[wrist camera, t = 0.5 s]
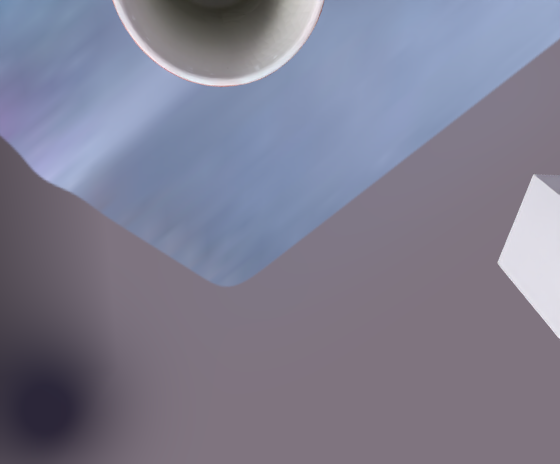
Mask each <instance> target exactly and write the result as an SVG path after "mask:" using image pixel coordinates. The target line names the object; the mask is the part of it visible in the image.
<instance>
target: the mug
mask: <svg viewBox="0 0 560 464" xmlns="http://www.w3.org/2000/svg"><path fill="white" fill-rule="evenodd" d="M113 3H114V6H115V8H116V11H117V14H118V16H119V18H120V20H121V21H122V23H123V25H124V27H125V28H126V30H127V31H128V33H129V34H130V36H131V37H132V39H133V40H134V41H135V42H136V44H137V45H138V46H139V47H140V48H141V50H142V51H144V52H145V53H146V54H147V55H148V56H149V57H150V58H151V59H152V60H153V61H154V62H156V63H157V64H158V65H160V66H161V67H162V68H164V69H165V70H167V71H169V72H170V73H172V74H174V75H176V76H178V77H180V78H182V79H185V80H187V81H190V82H194V83H198V84H202V85H207V86H220V87H226V86H236V85H243V84H247V83H251V82H253V81H257V80H260V79H262V78H264V77H266V76H268V75H270V74H271V73H273V72H275V71H277V70H278V69H279V68H281V67H282V66H283V65H284V64H286V63H287V62H288V61H289V60H290V59H291V58H292V57H293V56H294V55H295V54H296V53H297V52H298V51H299V50H300V49H301V47H302V46H303V45H304V43H305V42H306V40H307V39H308V37H309V36H310V34H311V32H312V31H313V29H314V27H315V25H316V23H317V21H318V19H319V16H320V14H321V11H322V7H323V4H324V0H113Z"/></svg>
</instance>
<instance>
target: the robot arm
mask: <svg viewBox="0 0 560 464" xmlns="http://www.w3.org/2000/svg"><path fill="white" fill-rule="evenodd" d="M498 264H499V265H500V267H501V268H502V269H503V270H504V272H505V273H506V274H507V275H508V277H509V278H510V279H511V280H512V282H513V283H514V284H515V285H516V286H517V288H518V289H519V290H520V291H521V292H522V294H523V295H524V296H525V297H526V299H527V300H528V301H529V302H530V303H531V305H532V306H533V307H534V308H535V310H536V311H537V312H538V313H539V314H540V316H541V317H542V318H543V319H544V321H545V322H546V323H547V324H548V325H549V327H550V328H551V329H552V330H553V331H554V333H555V334H556V335H557V336H558V338H559V339H560V176H557V175H539V174H534V175H533V177H532V180H531V182H530V185H529V187H528V189H527V192H526V194H525V197H524V199H523V202H522V204H521V207H520V209H519V211H518V214H517V217H516V219H515V221H514V224H513V226H512V229H511V231H510V234H509V236H508V238H507V241H506V243H505V246H504V248H503V251H502V253H501V256H500V258H499V261H498Z"/></svg>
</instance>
